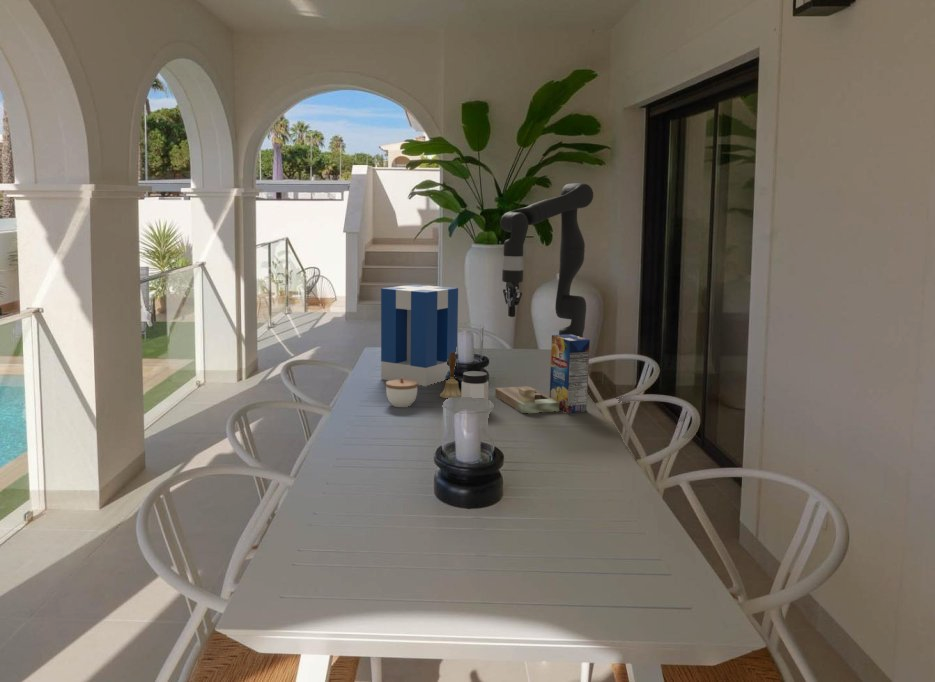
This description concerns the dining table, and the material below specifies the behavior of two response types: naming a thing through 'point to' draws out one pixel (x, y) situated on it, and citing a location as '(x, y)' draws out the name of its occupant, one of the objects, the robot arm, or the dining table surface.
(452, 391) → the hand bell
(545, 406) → the wooden compartment tray
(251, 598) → the dining table surface
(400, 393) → the lidded jar
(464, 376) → the jar
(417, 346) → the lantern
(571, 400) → the juice carton
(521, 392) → the beech block
